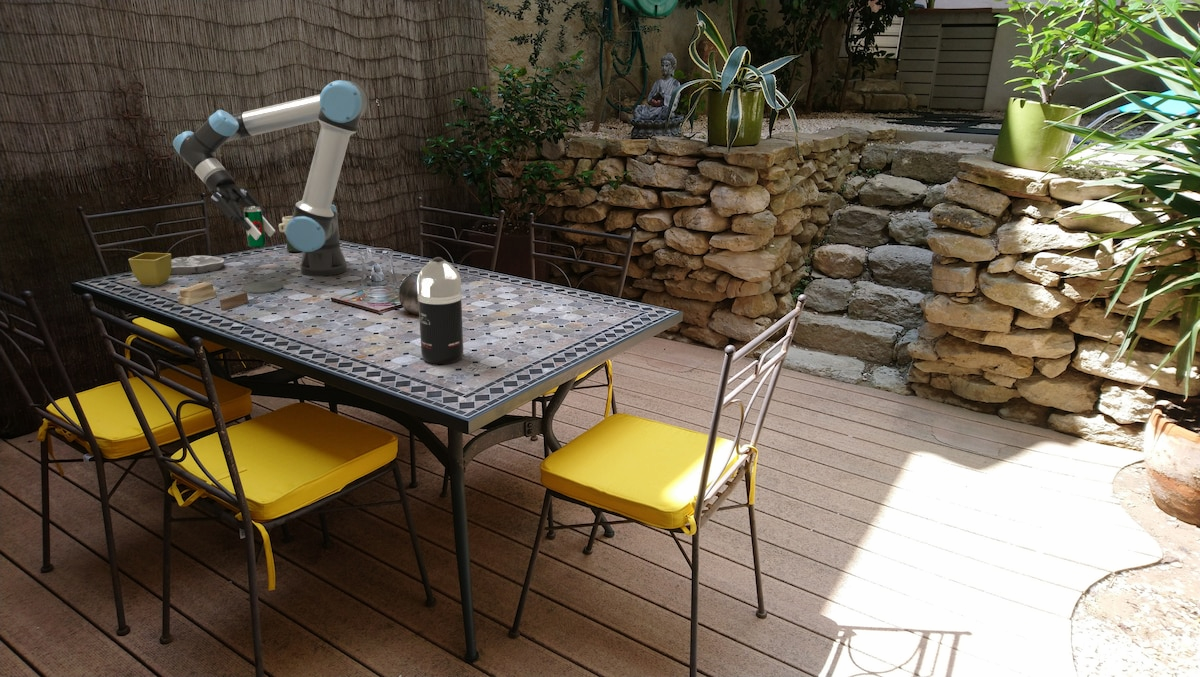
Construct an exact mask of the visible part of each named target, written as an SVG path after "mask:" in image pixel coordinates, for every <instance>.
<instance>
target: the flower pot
mask: <svg viewBox="0 0 1200 677" xmlns="http://www.w3.org/2000/svg"><path fill="white" fill-rule="evenodd" d="M171 259H172V253H167V252H166V253H164V252H163V253H162V252H144V253H143V252H142V253H141V254H138V255H136V256H133V257H130V258H128V259H127V260H128V262H129V266H130V269H131V271H132V274H133V276H134V277H135V279H136V280H137V281H138V282H139V283H140V285H142V286H157V287H158V286H161V285H163V284H164V283H167V282H168V281H169V278H170V276H171V275H172V274H171V269H172V263H171Z"/></svg>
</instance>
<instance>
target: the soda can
mask: <svg viewBox="0 0 1200 677" xmlns="http://www.w3.org/2000/svg"><path fill="white" fill-rule="evenodd" d="M242 213H243V216H244V219H245V218H248V219H249V220H250V221H251V222H252V223H253V225H254V226H255V227H256V228H257V229H258V230H259V232H260V233H261V236H260V237H259V238H258V240H255V239H254V238H253V237H252V236H251V234H250V233H249V232H248V231H246V230H245V232H246V239H247V246H248V247H250V248H254V249H256V248H257V249H258V248H264V247H265V246H266V244H267V242H266V241H267V240H266V235H265V233H266V232H265V231H264V224H263V216H262V210H261V209H260V207H258V206H249V207H245V208H243V212H242Z"/></svg>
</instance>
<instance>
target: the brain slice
mask: <svg viewBox="0 0 1200 677" xmlns="http://www.w3.org/2000/svg"><path fill="white" fill-rule="evenodd" d="M171 263H172V269H171V274H170V275H171V276H176V275H175V274H179V275H191V274H192V273H195V274H203V272H204V273H209V272H208V271H210V272H214V271H215V270H216V271H219V270H220V269H221V268H222V267H223V266H224V264H225V259H224V258H223V257H221V256H220V257H219V256H212V255H191V256H179V257H175V258H174V257H173V258H171ZM192 275H193V274H192Z"/></svg>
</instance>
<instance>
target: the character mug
mask: <svg viewBox="0 0 1200 677" xmlns="http://www.w3.org/2000/svg"><path fill="white" fill-rule="evenodd" d="M292 216H293V215H288V216H283V217H282V218H281V222H282V223H279V224H278V231H279V233H283V234H284V235H285V236H286V227H287V224H288V222H289V221H290V220H291V219H292ZM286 251H289V252H291V253H293V252H301V251H300V250H297V249H296V248H294V247H293V246H292V245H291V244H290V243H289V241H288V240H287V239H286Z"/></svg>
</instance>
